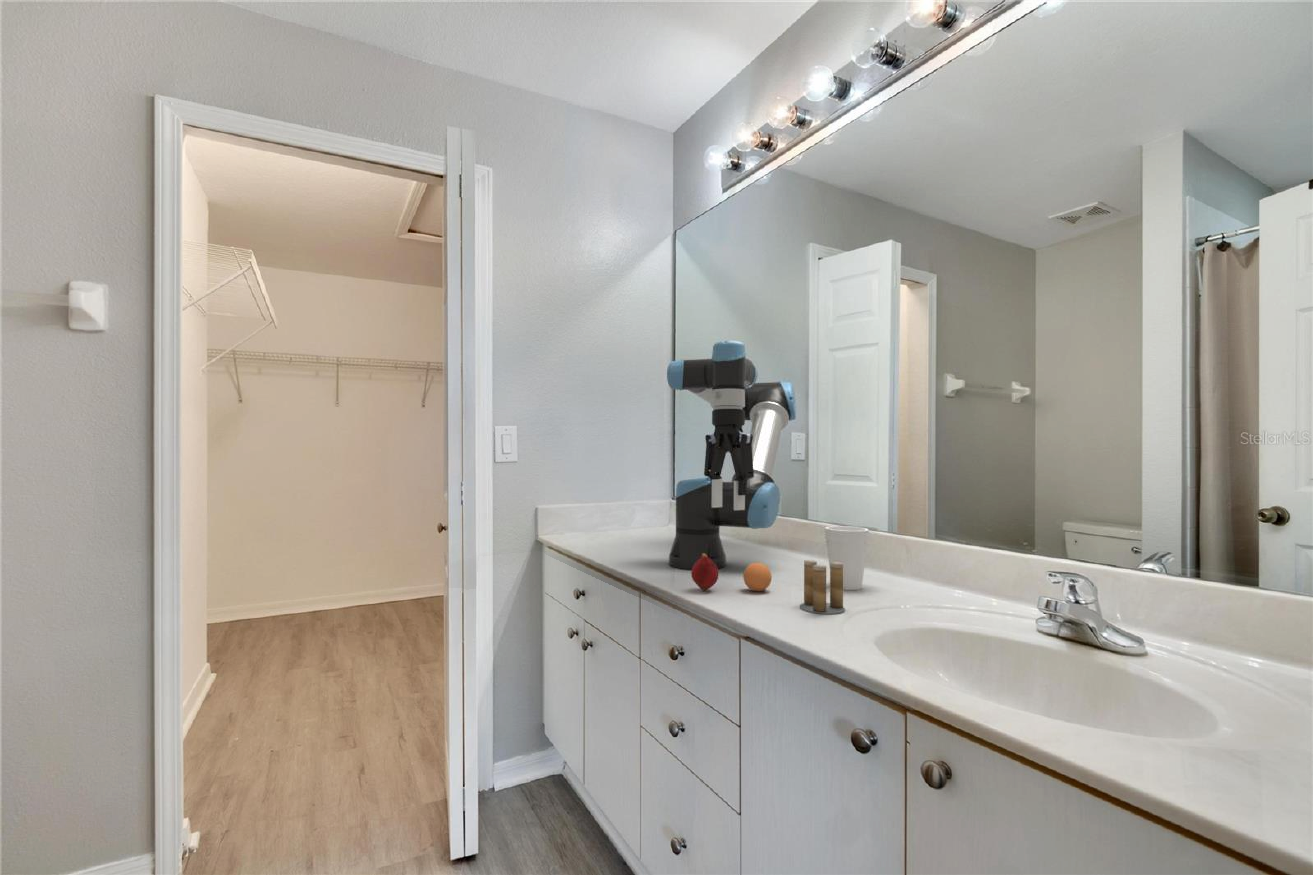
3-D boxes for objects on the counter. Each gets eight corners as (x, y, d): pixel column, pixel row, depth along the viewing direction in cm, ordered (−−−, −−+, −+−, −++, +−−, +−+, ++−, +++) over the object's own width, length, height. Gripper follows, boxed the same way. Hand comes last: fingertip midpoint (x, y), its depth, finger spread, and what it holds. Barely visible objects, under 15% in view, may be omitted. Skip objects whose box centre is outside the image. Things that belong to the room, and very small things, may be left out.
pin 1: (813, 609, 114) (813, 564, 114) (826, 610, 114) (826, 565, 114) (813, 613, 112) (813, 566, 112) (826, 614, 111) (826, 567, 112)
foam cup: (816, 585, 135) (816, 528, 135) (839, 580, 141) (839, 525, 141) (855, 593, 128) (855, 532, 128) (876, 587, 134) (876, 529, 134)
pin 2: (829, 606, 117) (829, 561, 117) (842, 607, 117) (842, 562, 117) (830, 609, 115) (830, 564, 115) (843, 610, 114) (843, 564, 114)
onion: (718, 588, 132) (718, 551, 132) (718, 594, 126) (718, 556, 126) (691, 587, 132) (692, 551, 133) (690, 593, 127) (691, 555, 127)
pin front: (804, 603, 119) (804, 559, 119) (816, 604, 119) (816, 560, 119) (804, 606, 117) (804, 561, 117) (816, 607, 116) (816, 562, 116)
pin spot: (800, 601, 120) (800, 600, 120) (843, 604, 118) (843, 603, 118) (799, 612, 112) (799, 611, 112) (846, 615, 110) (846, 614, 110)
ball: (744, 587, 133) (745, 559, 133) (772, 588, 132) (772, 561, 132) (741, 593, 127) (742, 564, 127) (770, 595, 126) (770, 566, 126)
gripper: (688, 410, 144) (688, 506, 144) (746, 405, 128) (746, 513, 127) (712, 411, 148) (711, 504, 148) (771, 407, 132) (771, 511, 132)
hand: (727, 508), depth 138 cm, fingers open, 7 cm apart
